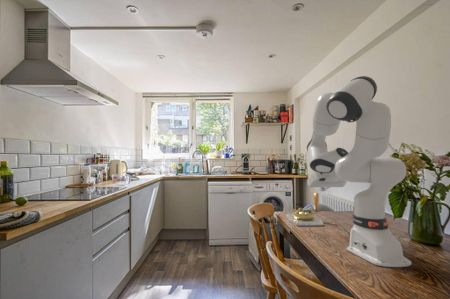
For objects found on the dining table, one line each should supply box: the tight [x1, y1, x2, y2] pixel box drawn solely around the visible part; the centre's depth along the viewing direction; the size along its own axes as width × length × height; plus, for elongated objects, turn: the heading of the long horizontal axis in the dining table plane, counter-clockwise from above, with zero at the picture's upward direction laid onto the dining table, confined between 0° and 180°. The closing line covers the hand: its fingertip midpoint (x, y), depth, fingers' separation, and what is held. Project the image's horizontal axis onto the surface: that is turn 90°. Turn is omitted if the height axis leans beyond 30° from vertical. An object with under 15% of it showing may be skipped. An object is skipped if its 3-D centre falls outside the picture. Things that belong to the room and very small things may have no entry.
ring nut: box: [292, 192, 320, 220], centre depth 144 cm, size 12×15×14 cm
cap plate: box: [285, 213, 324, 227], centre depth 144 cm, size 20×15×2 cm
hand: (322, 190), depth 134 cm, fingers closed
